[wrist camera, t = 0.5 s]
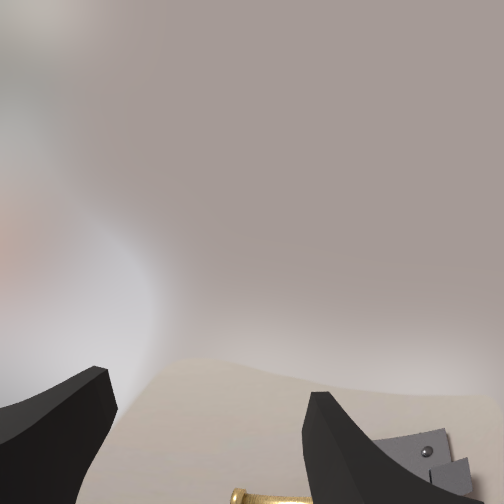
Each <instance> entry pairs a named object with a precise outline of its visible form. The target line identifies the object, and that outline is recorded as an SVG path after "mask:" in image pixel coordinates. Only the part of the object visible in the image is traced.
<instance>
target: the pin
mask: <svg viewBox="0 0 504 504" xmlns="http://www.w3.org/2000/svg"><path fill="white" fill-rule="evenodd" d="M230 504H313V501H312V497H282V496H266V495H255V494H247V492H246V489H239V488H235V489H234V491H233V493H232V496H231V501H230Z"/></svg>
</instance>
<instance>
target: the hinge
mask: <svg viewBox="0 0 504 504" xmlns="http://www.w3.org/2000/svg"><path fill="white" fill-rule="evenodd" d="M372 442H373V443H375V444H376V445H377V446H378V447H379V448H380V449H381V450H382V451H383V452H384V453H386V454H387V455H388V456H389V457H390V458H392V459H393V460H394V461H396V462H397V463H398V464H400V465H401V466H402V467H404V468H405V469H407V470H408V471H410V472H411V473H413V474H415V475H416V476H418V477H420V478H422V479H423V480H425V481H427V482H429V483H431V484H433V485H435V486H437V487H439V488H442V489H444V490H446V491H449V492H451V493H454V494H457V495H460V496H465V495H467V494H468V493H470V492H472V491H473V489H472V482H471V475H470V469H469V463H468V458H467V457H466V458H463V459H460V460H457V461H454V462H451V457H450V451H449V446H448V441H447V436H446V431H445V428H442V429H438V430H434V431H429V432H424V433H419V434H414V435H408V436H402V437H396V438H389V439H382V440H373V441H372Z"/></svg>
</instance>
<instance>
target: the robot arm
mask: <svg viewBox="0 0 504 504" xmlns="http://www.w3.org/2000/svg"><path fill="white" fill-rule="evenodd" d="M117 410H118V407H117V404H116V400H115V396H114V393H113V389H112V386H111V381H110V377H109V373H108V369H105V368H101V367H96V366H92V367H91V368H88V369H86V370H85V371H82V372H80V373H79V374H77V375H75V376H73V377H71V378H69V379H68V380H66V381H64V382H62V383H60V384H58V385H56V386H54V387H53V388H50V389H48V390H46V391H44V392H42V393H40V394H38V395H35V396H33V397H31V398H29V399H26V400H24V401H22V402H19V403H16V404H13V405H10V406H6V407H3V408H0V504H75V503H76V499H77V496H78V493H79V490H80V487H81V485H82V482H83V479H84V477H85V475H86V473H87V470H88V469H89V467H90V465H91V463H92V461H93V460H94V458H95V456H96V454H97V452H98V451H99V449H100V447H101V445H102V443H103V442H104V440H105V438H106V436H107V434H108V433H109V431H110V429H111V426H112V424H113V421H114V418H115V415H116V413H117ZM302 444H303V456H304V461H305V466H306V471H307V476H308V481H309V486H310V491H311V496H312V501H313V504H484V502H482V501H478V500H474V499H470V498H467V497H463V496H460V495H457V494H454V493H451V492H449V491H446V490H444V489H442V488H439V487H437V486H435V485H433V484H431V483H429V482H427V481H425V480H423V479H422V478H420V477H418V476H416V475H415V474H413V473H411V472H410V471H408V470H407V469H405V468H404V467H402V466H401V465H400V464H398V463H397V462H396V461H394V460H393V459H392V458H390V457H389V456H388V455H387V454H386V453H384V452H383V451H382V450H381V449H380V448H379V447H378V446H377V445H376V444H375V443H373V442H372V441H371V440H370V439H369V438H368V437H367V436H366V435H365V433H364V432H363V431H362V430H361V429H360V428H359V427H358V426H357V425H356V424H355V423H354V421H353V420H352V419H351V418H350V417H349V416H348V414H347V413H346V412H345V411H344V410H343V408H342V407H341V406H340V405H339V403H338V402H337V401H336V400H335V398H334V397H333V396H332V395H331V394H330V392H311V396H310V400H309V404H308V408H307V412H306V416H305V420H304V424H303V428H302Z"/></svg>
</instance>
